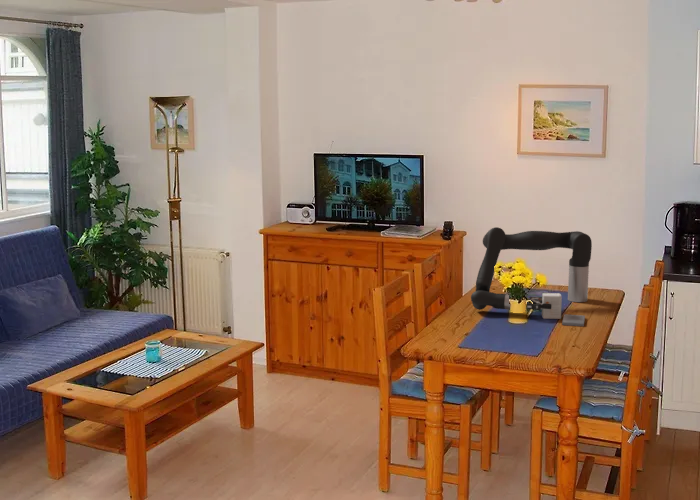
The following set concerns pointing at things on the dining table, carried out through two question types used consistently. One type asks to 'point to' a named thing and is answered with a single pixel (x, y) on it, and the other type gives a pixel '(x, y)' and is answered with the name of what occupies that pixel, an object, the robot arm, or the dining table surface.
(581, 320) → the slate tile
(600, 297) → the dining table surface
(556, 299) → the small box
